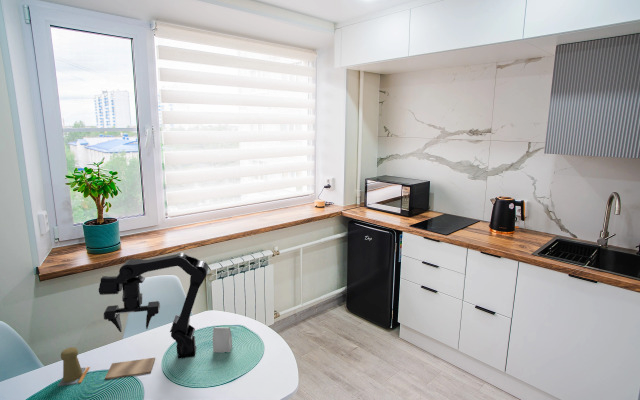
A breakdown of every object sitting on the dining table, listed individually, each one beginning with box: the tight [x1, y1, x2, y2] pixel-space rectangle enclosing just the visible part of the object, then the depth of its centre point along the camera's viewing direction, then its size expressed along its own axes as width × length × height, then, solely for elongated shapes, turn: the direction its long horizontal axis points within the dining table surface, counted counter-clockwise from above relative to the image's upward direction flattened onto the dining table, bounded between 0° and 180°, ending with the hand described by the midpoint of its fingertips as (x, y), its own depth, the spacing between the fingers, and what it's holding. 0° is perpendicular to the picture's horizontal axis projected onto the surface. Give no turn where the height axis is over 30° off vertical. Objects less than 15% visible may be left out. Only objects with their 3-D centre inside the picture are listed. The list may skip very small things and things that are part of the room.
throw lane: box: [57, 357, 156, 387], centre depth 136 cm, size 31×8×1 cm, turn 103°
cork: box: [60, 346, 84, 382], centre depth 132 cm, size 6×6×11 cm
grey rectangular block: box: [212, 326, 233, 353], centre depth 149 cm, size 4×7×10 cm, turn 88°
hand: (134, 330), depth 141 cm, fingers open, 9 cm apart
